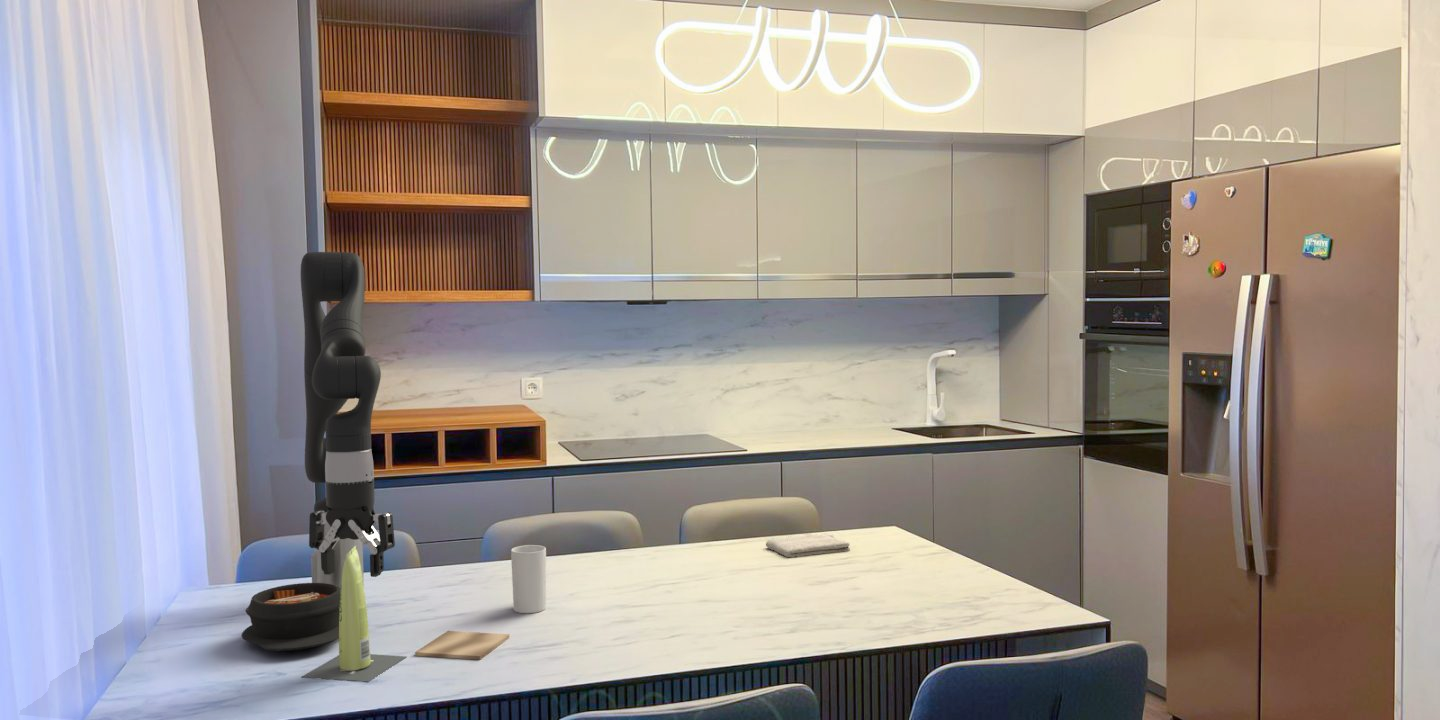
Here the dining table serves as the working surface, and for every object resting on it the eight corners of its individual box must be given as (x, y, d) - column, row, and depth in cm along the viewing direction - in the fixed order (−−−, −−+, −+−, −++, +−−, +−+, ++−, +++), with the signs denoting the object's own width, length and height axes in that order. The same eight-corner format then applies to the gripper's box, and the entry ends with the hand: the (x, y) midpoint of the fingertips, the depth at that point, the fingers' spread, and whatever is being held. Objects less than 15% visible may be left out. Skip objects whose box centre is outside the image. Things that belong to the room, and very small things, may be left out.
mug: (546, 613, 201) (545, 552, 200) (511, 615, 200) (510, 553, 199) (547, 598, 211) (546, 540, 210) (514, 600, 210) (512, 542, 209)
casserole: (240, 627, 194) (238, 583, 194) (345, 613, 202) (343, 571, 202) (242, 668, 172) (241, 618, 172) (360, 650, 180) (358, 603, 180)
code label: (301, 680, 167) (301, 676, 167) (343, 655, 179) (343, 652, 179) (368, 685, 164) (368, 681, 164) (407, 660, 176) (406, 656, 176)
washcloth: (853, 552, 250) (853, 539, 250) (787, 560, 242) (787, 547, 242) (828, 542, 261) (828, 530, 260) (765, 550, 253) (764, 537, 253)
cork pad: (415, 655, 177) (415, 652, 177) (448, 633, 188) (448, 630, 188) (480, 659, 174) (480, 656, 174) (509, 637, 186) (509, 634, 186)
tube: (331, 666, 171) (327, 550, 170) (359, 658, 175) (355, 544, 174) (349, 674, 168) (345, 555, 167) (377, 665, 171) (374, 549, 171)
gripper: (297, 480, 168) (300, 578, 168) (376, 481, 165) (379, 582, 165) (324, 473, 175) (327, 567, 176) (400, 474, 172) (403, 570, 173)
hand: (352, 574), depth 171 cm, fingers open, 8 cm apart
